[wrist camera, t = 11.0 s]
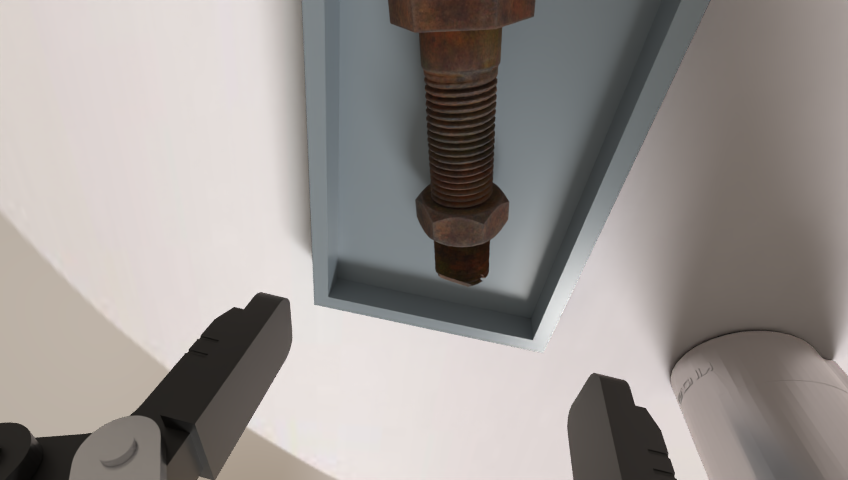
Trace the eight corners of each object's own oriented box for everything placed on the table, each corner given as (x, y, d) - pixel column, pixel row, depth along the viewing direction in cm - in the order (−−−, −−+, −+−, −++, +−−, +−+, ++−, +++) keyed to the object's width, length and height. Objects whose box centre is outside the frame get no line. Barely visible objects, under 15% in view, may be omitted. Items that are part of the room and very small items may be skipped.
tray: (725, -107, 15) (767, -120, 13) (539, 321, 29) (543, 353, 27) (325, -165, 16) (293, -188, 14) (329, 277, 30) (314, 304, 28)
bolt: (455, 236, 27) (450, -29, 18) (523, 262, 24) (555, -34, 16) (398, 283, 24) (359, -17, 15) (470, 321, 21) (473, -20, 12)
